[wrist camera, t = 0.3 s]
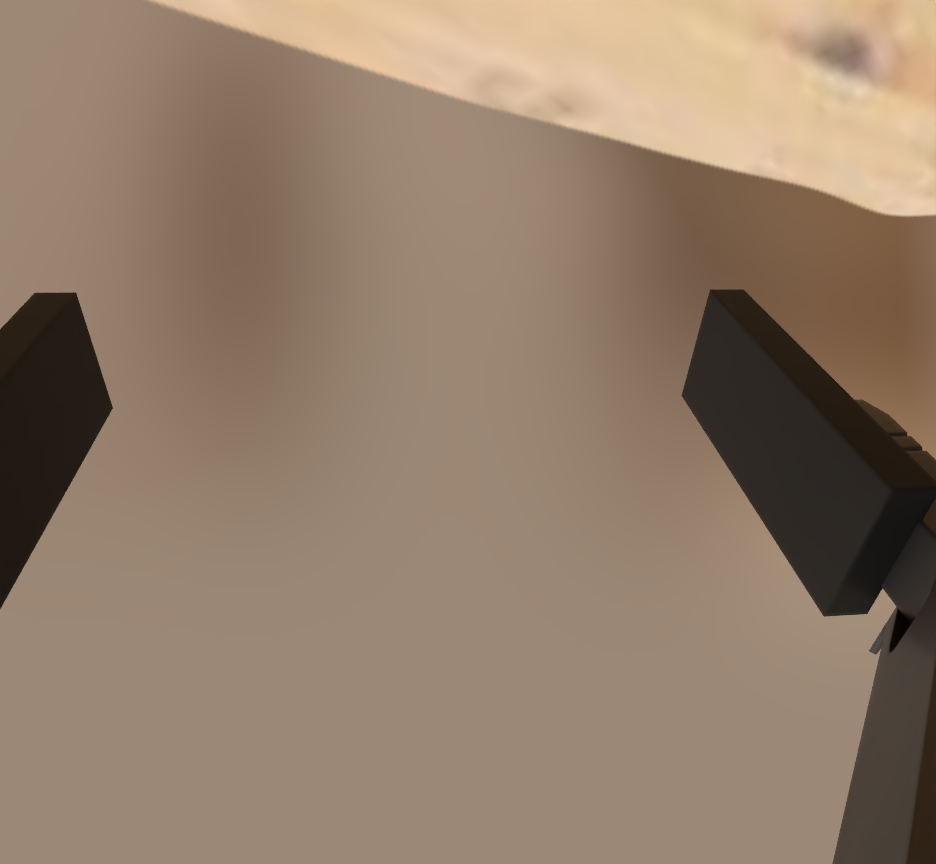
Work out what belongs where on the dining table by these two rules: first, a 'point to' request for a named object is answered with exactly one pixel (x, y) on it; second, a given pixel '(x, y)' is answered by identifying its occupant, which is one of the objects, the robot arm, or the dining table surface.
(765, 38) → the dining table surface
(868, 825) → the robot arm
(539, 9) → the dining table surface
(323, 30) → the dining table surface
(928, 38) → the dining table surface
